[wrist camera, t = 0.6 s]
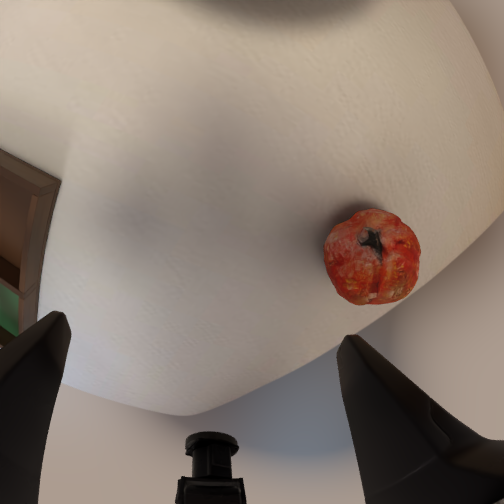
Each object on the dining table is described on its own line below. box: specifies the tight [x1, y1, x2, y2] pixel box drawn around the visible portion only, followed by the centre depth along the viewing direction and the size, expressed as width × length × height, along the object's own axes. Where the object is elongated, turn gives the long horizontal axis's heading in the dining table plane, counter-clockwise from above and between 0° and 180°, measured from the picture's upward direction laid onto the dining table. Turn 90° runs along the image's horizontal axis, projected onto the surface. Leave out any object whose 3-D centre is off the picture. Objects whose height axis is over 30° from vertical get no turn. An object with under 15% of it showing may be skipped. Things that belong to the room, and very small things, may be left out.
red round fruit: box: [324, 208, 421, 305], centre depth 20 cm, size 7×7×10 cm
